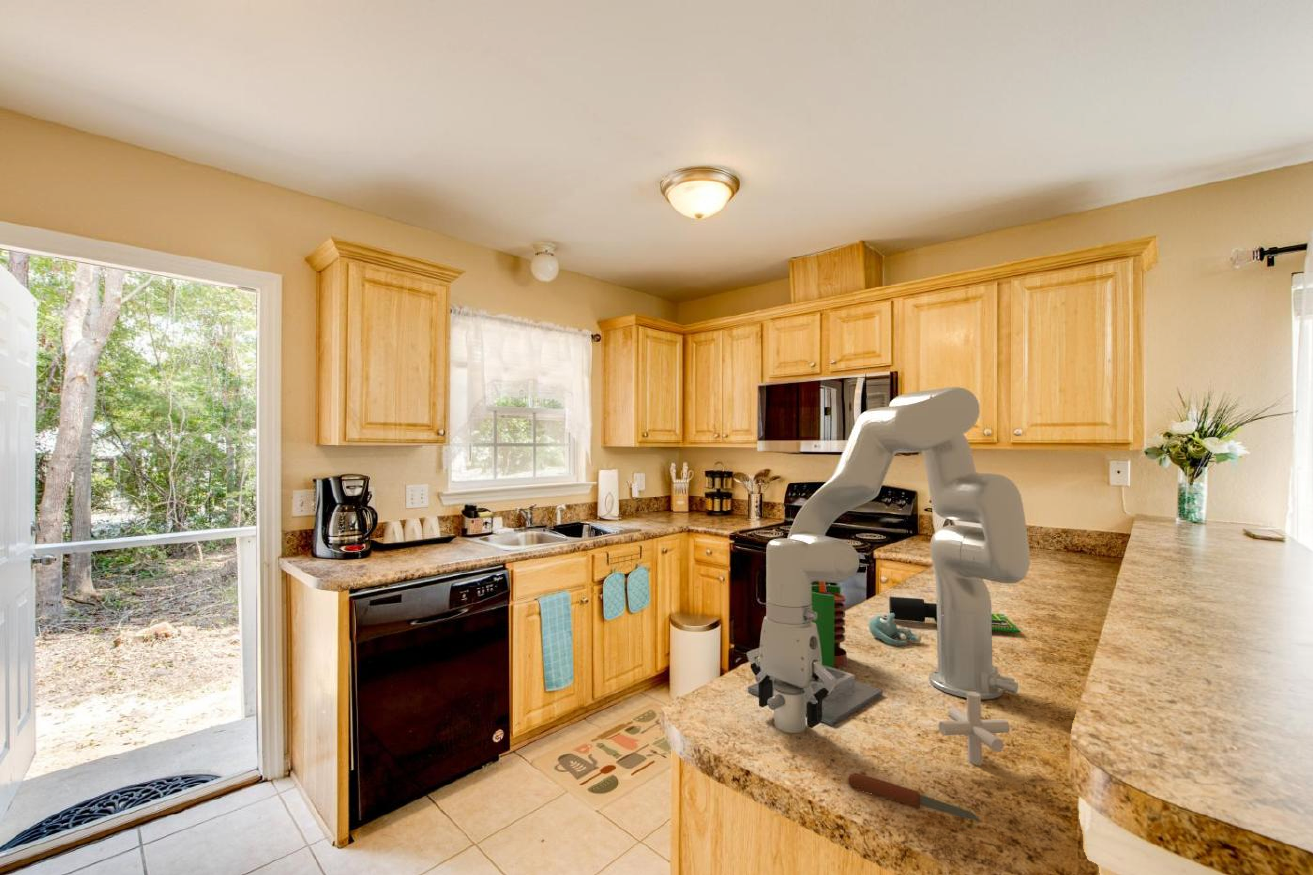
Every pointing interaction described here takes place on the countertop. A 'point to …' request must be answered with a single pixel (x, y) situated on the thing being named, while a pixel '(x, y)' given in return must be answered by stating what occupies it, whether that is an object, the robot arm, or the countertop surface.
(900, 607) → the electronic board model
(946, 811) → the kitchen knife
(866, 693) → the mount plate
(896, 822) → the countertop surface
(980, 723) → the pipe connector
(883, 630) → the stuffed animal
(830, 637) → the motor
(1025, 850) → the countertop surface
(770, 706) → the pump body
